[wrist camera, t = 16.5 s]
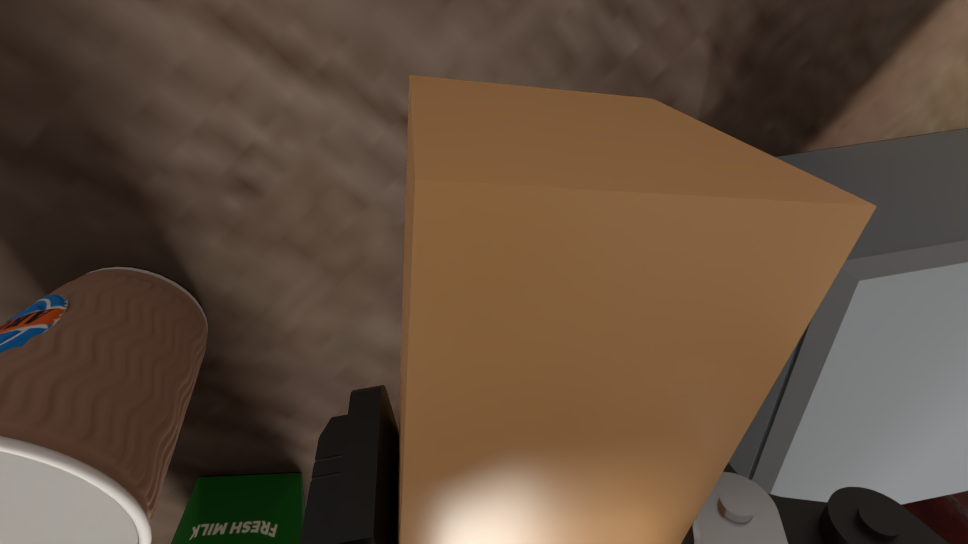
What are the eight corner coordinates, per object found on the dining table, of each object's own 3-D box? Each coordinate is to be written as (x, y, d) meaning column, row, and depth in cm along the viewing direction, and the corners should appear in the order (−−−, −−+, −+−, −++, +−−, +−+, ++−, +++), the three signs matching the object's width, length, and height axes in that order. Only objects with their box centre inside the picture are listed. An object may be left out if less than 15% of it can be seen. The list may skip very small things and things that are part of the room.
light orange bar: (530, 528, 16) (575, 724, 12) (395, 539, 15) (391, 753, 11) (652, 98, 9) (876, 205, 5) (409, 75, 8) (414, 179, 4)
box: (909, 331, 36) (1061, 440, 28) (657, 376, 35) (737, 505, 26) (1020, 120, 27) (1292, 187, 19) (688, 169, 26) (824, 265, 18)
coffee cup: (88, 195, 22) (-170, 382, 12) (279, 313, 27) (207, 514, 17) (-12, 324, 25) (-290, 562, 15) (177, 409, 30) (64, 631, 20)
